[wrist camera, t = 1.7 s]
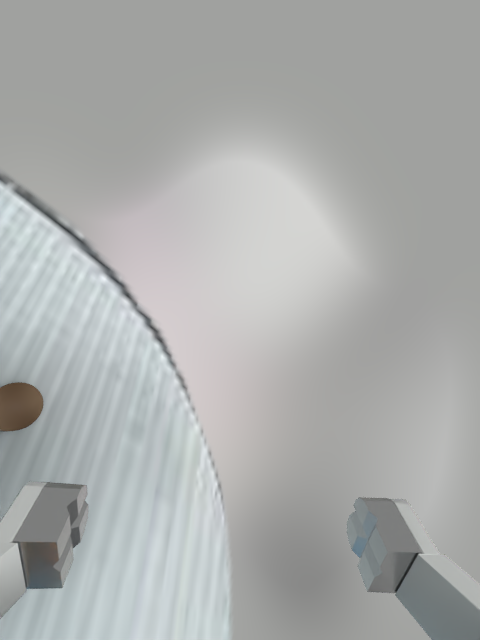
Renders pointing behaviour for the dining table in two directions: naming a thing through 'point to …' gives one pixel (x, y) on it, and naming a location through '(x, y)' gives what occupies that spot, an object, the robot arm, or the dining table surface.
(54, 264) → the dining table surface
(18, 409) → the brown wooden cylinder
